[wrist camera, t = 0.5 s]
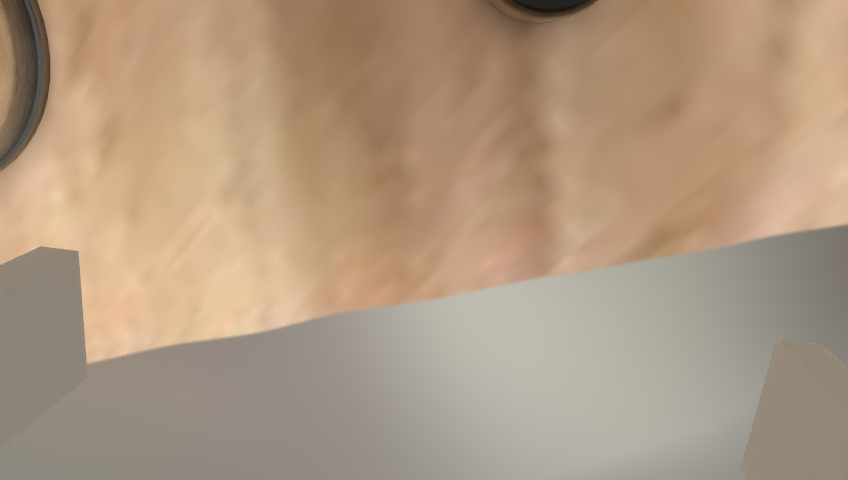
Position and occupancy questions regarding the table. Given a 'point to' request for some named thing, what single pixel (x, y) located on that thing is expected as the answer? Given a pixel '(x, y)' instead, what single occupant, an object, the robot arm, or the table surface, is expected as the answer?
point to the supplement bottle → (540, 9)
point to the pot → (21, 75)
